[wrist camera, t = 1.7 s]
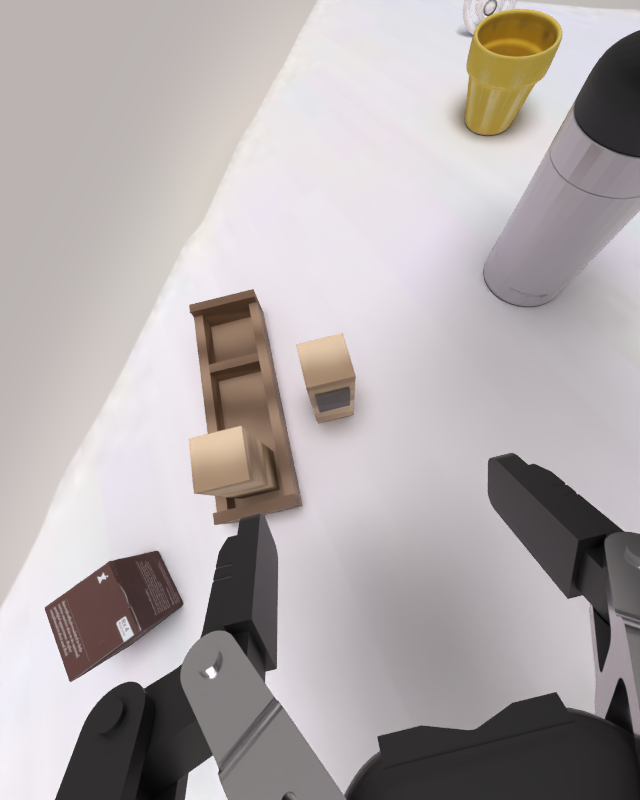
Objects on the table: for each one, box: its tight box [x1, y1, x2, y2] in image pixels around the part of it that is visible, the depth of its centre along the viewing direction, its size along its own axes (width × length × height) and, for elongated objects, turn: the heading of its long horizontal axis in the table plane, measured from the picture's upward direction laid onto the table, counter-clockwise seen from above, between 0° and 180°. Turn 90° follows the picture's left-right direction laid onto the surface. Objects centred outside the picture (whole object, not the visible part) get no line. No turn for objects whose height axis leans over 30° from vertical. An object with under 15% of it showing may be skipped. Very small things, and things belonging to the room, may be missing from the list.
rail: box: [189, 289, 302, 525], centre depth 32 cm, size 24×8×12 cm, turn 13°
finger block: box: [296, 333, 355, 423], centre depth 32 cm, size 4×4×11 cm
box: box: [45, 551, 183, 682], centre depth 29 cm, size 6×6×7 cm
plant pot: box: [465, 9, 562, 135], centre depth 45 cm, size 10×10×10 cm
